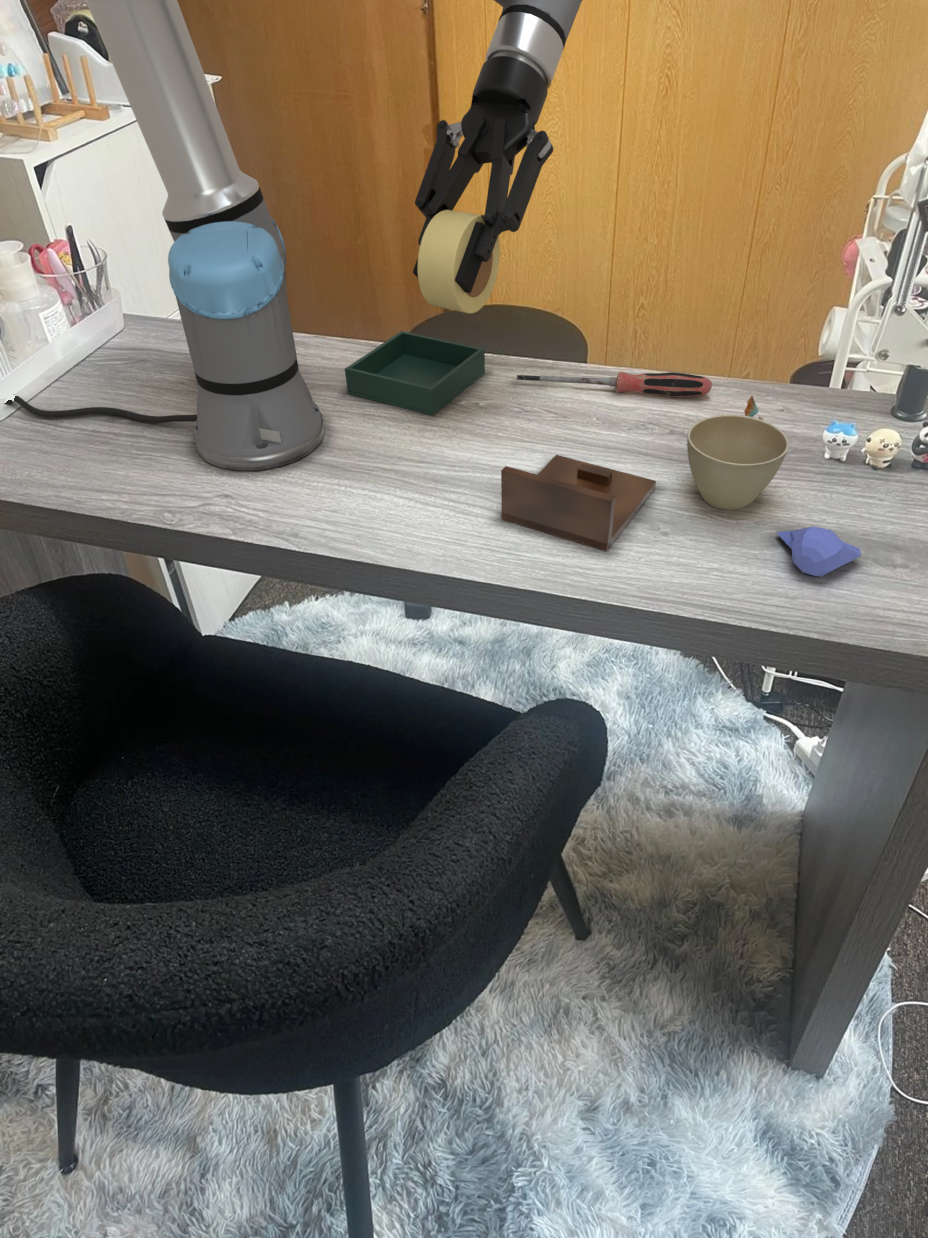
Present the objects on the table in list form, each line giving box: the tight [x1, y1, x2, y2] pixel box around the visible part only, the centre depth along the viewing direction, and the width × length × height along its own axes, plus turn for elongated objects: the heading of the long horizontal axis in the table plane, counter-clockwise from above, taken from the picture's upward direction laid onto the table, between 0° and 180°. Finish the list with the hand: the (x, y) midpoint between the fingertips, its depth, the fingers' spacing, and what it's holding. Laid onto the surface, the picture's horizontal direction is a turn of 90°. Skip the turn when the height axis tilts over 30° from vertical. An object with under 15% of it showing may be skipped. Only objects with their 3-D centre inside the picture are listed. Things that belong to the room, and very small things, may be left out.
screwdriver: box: [516, 371, 713, 398], centre depth 113 cm, size 25×3×3 cm
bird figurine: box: [776, 526, 862, 577], centre depth 85 cm, size 8×6×6 cm
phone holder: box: [500, 454, 657, 552], centre depth 93 cm, size 12×13×6 cm
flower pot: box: [686, 413, 790, 511], centre depth 92 cm, size 10×10×7 cm
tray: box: [344, 330, 486, 417], centre depth 116 cm, size 13×13×4 cm
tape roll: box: [417, 210, 501, 314], centre depth 97 cm, size 5×10×10 cm, turn 149°
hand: (441, 282), depth 95 cm, fingers closed on tape roll, 5 cm apart
